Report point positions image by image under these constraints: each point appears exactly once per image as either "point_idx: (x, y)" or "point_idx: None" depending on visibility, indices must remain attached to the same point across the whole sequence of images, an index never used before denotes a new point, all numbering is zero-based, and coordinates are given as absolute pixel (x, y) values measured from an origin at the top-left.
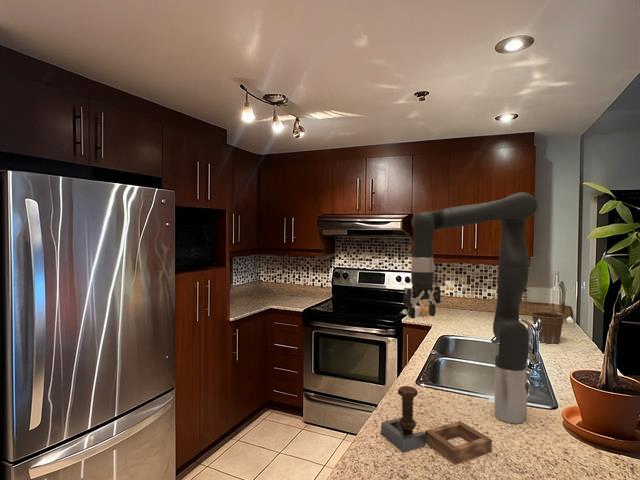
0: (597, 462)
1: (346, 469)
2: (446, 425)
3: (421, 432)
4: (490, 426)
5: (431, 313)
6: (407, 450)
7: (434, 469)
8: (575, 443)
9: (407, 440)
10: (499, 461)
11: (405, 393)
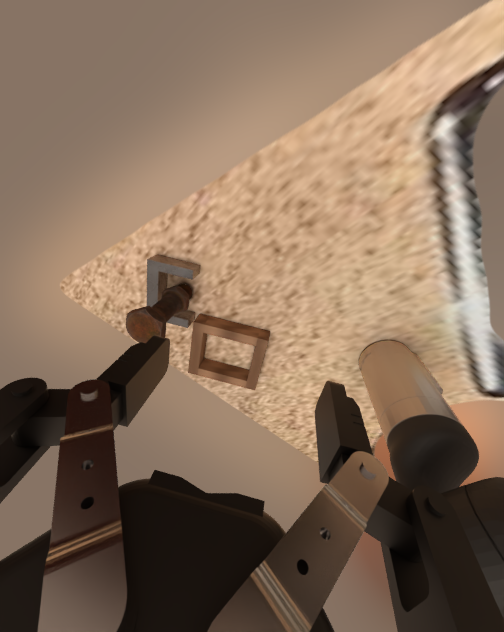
0: None
1: (68, 288)
2: (235, 334)
3: (184, 321)
4: (326, 352)
5: (320, 411)
6: None
7: None
8: None
9: None
10: (244, 391)
11: (130, 334)
